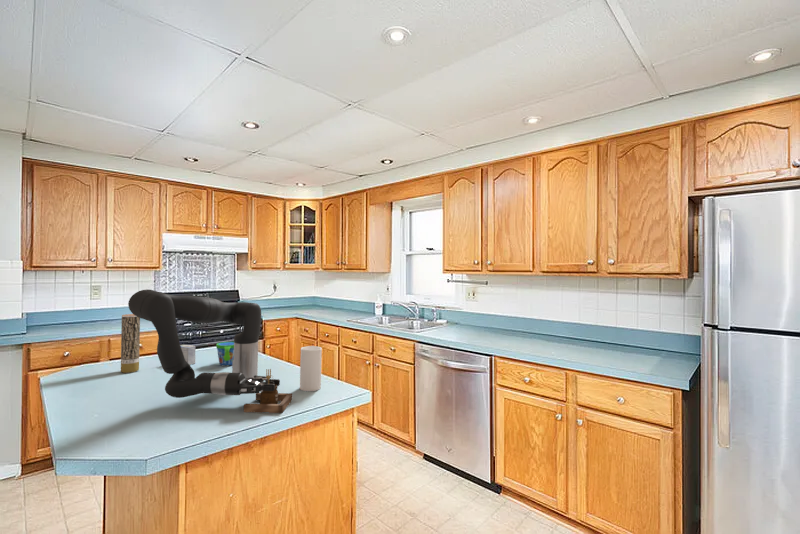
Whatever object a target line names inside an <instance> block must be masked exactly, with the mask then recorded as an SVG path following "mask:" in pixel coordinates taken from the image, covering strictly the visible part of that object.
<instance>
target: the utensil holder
mask: <svg viewBox="0 0 800 534" xmlns="http://www.w3.org/2000/svg"><path fill="white" fill-rule="evenodd" d="M265 376H266V378H267V381H268V382H267V383H268V384H269V379H274V376H273V375H272V368H270V369H269V368H268V369H266V375H265ZM273 383H274V382H273ZM260 393H261V394H260V401H259V404H279V401H278V393H279V392H278V386H277V385H276V384H275V390H274V391H262V392H260Z"/></svg>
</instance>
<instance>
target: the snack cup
mask: <svg viewBox="0 0 800 534" xmlns="http://www.w3.org/2000/svg"><path fill="white" fill-rule="evenodd" d="M215 347H216V350H217V357H218V364H219V365H220V366H222V365H225V367H227V366H226V365H229V366H232V362H233V360H234V341H222V342H217V343H216V344H215Z"/></svg>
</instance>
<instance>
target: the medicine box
mask: <svg viewBox="0 0 800 534" xmlns="http://www.w3.org/2000/svg"><path fill="white" fill-rule="evenodd" d="M180 346H181V349H182V352H183V355H184V358H185V360H186V361H187V363H188V364H189V365H190V366H192V365H195V364H196V345H190V344H180ZM191 364H192V365H191Z"/></svg>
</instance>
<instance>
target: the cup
mask: <svg viewBox="0 0 800 534" xmlns="http://www.w3.org/2000/svg"><path fill="white" fill-rule="evenodd" d="M322 350H323V348H322V347H321V346H318V345H317V346H316V345H307V346H302V347H300V362H299V363H300V364H299V365H300V367H299V368H300V370H299V373H300V374H299V390H301V391H304V392H314V391H318V390H320V389H321V387H322V352H323V351H322Z"/></svg>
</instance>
